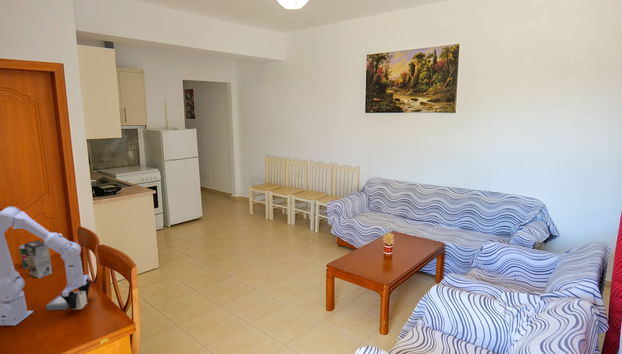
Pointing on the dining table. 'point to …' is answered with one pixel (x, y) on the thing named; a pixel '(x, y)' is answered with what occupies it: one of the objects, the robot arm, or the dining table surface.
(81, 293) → the cream block
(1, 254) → the robot arm
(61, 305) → the gray base
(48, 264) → the coffee box
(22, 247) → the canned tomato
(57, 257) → the dining table surface
